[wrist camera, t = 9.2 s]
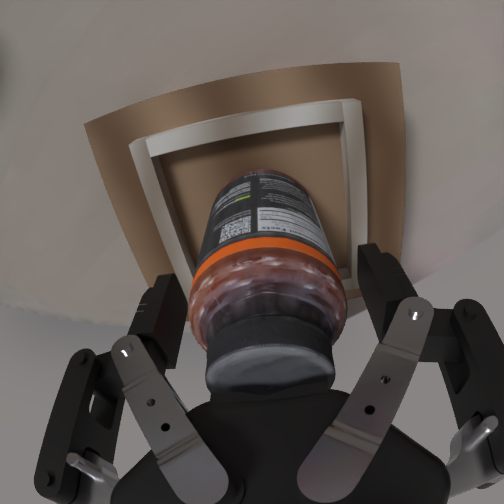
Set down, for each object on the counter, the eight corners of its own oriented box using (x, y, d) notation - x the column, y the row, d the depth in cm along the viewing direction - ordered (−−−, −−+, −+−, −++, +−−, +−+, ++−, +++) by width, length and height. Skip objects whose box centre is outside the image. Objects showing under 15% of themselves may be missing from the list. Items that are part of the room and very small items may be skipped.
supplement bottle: (272, 269, 20) (280, 435, 11) (194, 223, 18) (142, 391, 9) (333, 204, 17) (402, 368, 8) (251, 144, 16) (242, 286, 6)
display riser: (363, 62, 18) (408, 63, 12) (373, 246, 26) (401, 300, 20) (122, 108, 19) (73, 128, 14) (180, 276, 28) (164, 334, 22)
